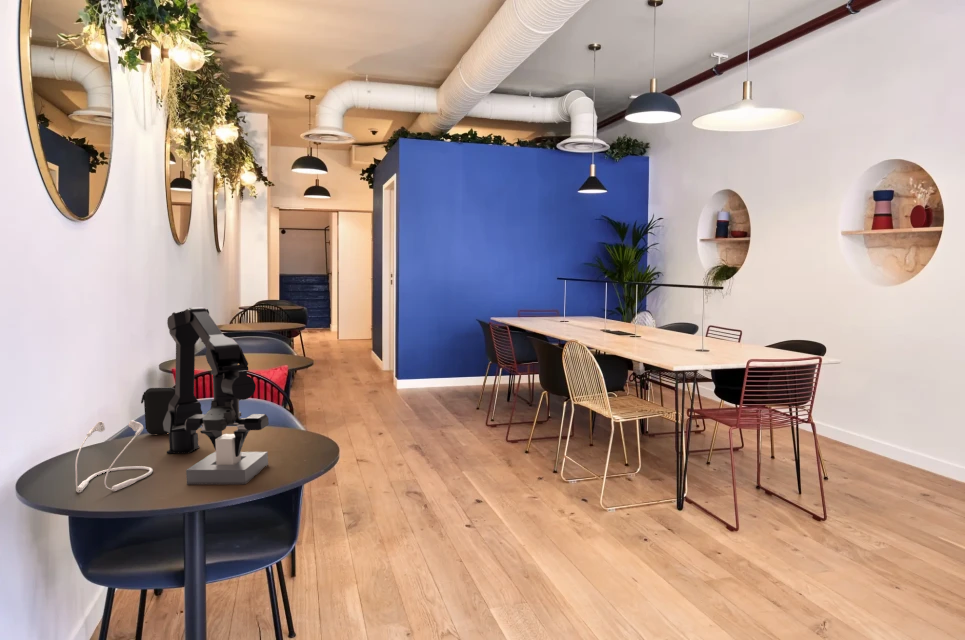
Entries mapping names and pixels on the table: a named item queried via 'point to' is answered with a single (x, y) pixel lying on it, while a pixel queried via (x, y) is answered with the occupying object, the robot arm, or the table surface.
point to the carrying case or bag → (156, 408)
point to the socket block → (227, 469)
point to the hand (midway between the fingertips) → (228, 456)
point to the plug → (226, 450)
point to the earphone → (100, 427)
